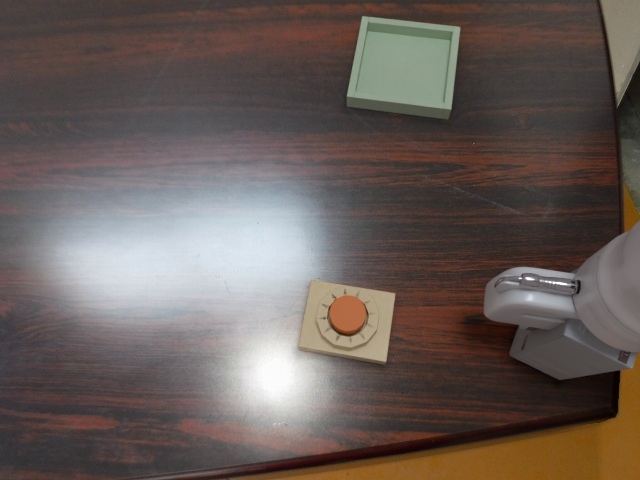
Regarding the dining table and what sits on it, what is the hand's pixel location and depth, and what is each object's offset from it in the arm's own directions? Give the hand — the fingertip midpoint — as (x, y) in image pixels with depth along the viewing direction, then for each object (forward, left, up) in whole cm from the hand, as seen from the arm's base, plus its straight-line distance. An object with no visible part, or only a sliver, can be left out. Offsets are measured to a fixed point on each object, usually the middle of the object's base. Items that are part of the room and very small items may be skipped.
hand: (568, 329), depth 56 cm
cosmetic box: (0, 0, -6) cm, 6 cm away
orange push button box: (+23, +2, -6) cm, 24 cm away
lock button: (+23, +2, -3) cm, 23 cm away
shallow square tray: (+21, -35, -6) cm, 41 cm away
